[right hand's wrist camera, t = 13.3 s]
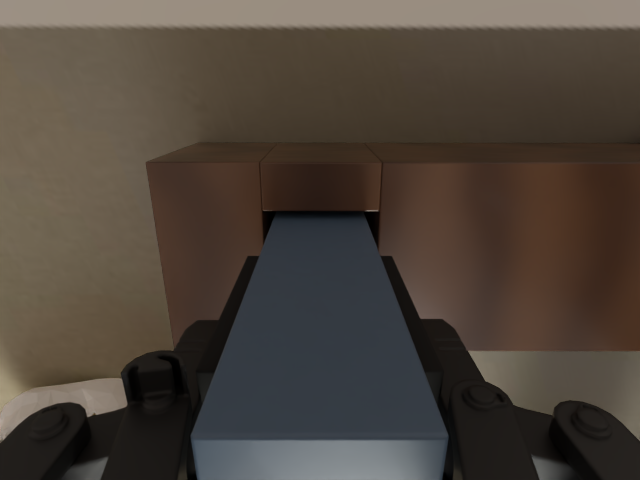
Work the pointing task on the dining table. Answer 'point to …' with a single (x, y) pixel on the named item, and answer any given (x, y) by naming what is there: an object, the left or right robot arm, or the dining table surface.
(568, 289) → the walnut block
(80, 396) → the skull
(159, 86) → the dining table surface
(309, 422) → the peg
